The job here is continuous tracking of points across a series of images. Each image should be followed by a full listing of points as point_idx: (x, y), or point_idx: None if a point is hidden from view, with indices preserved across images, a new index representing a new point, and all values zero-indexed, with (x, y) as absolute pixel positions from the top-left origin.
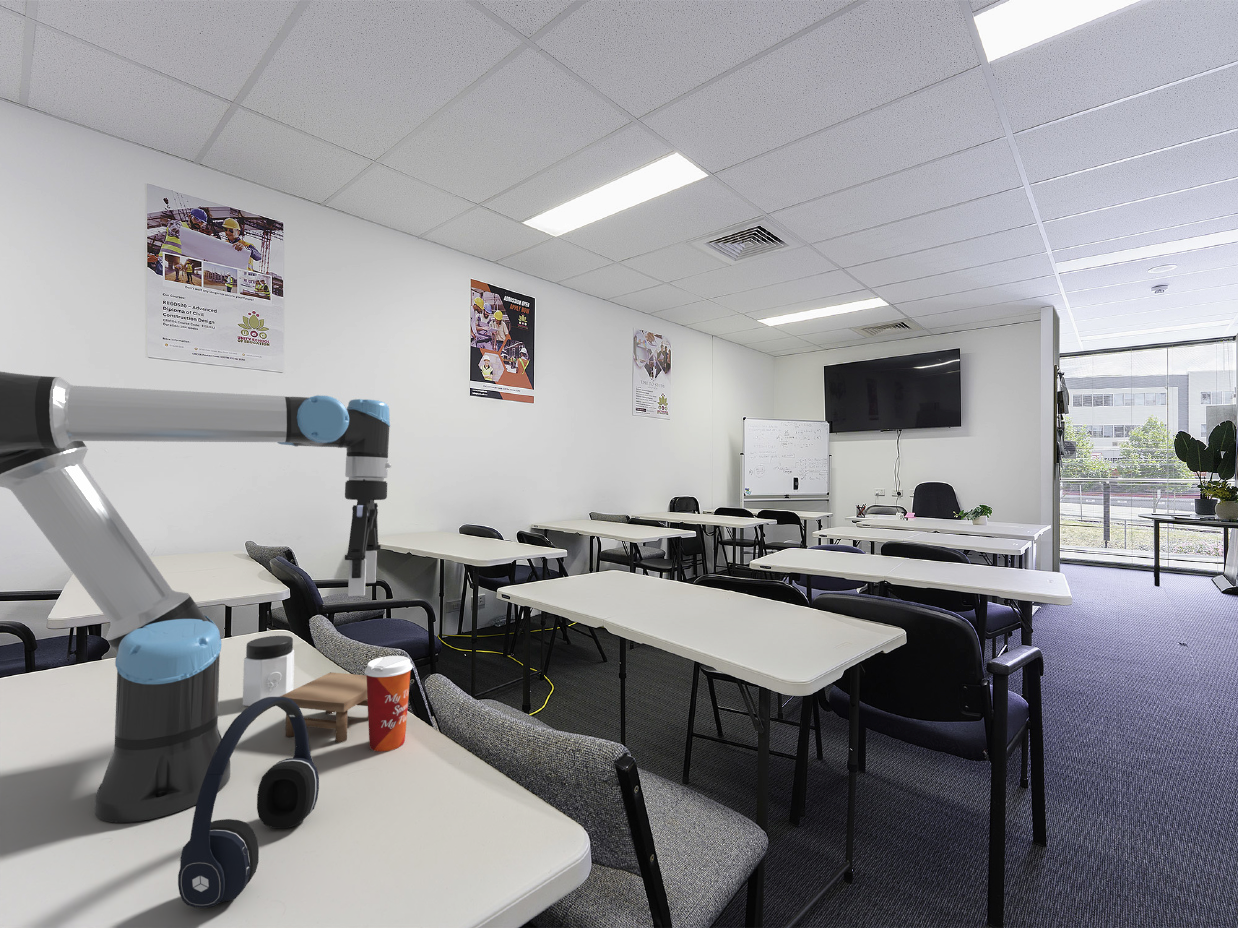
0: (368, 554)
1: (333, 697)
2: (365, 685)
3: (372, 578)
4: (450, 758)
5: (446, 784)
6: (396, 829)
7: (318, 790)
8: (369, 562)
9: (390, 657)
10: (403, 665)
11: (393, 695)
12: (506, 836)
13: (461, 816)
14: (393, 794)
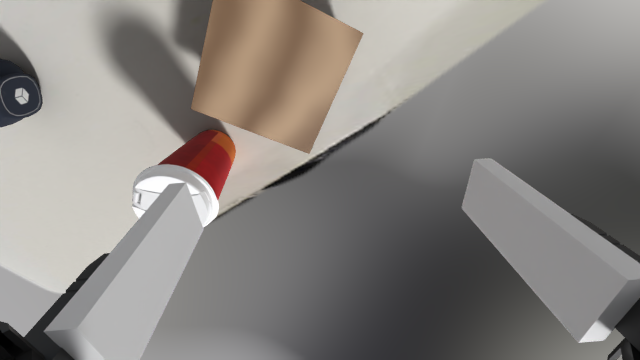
0: (578, 289)
1: (218, 82)
2: (274, 123)
3: (474, 210)
4: None
5: (129, 215)
6: (46, 188)
7: (14, 122)
8: (532, 252)
9: (195, 205)
10: None
11: None
12: (61, 258)
13: (80, 230)
14: (102, 175)
